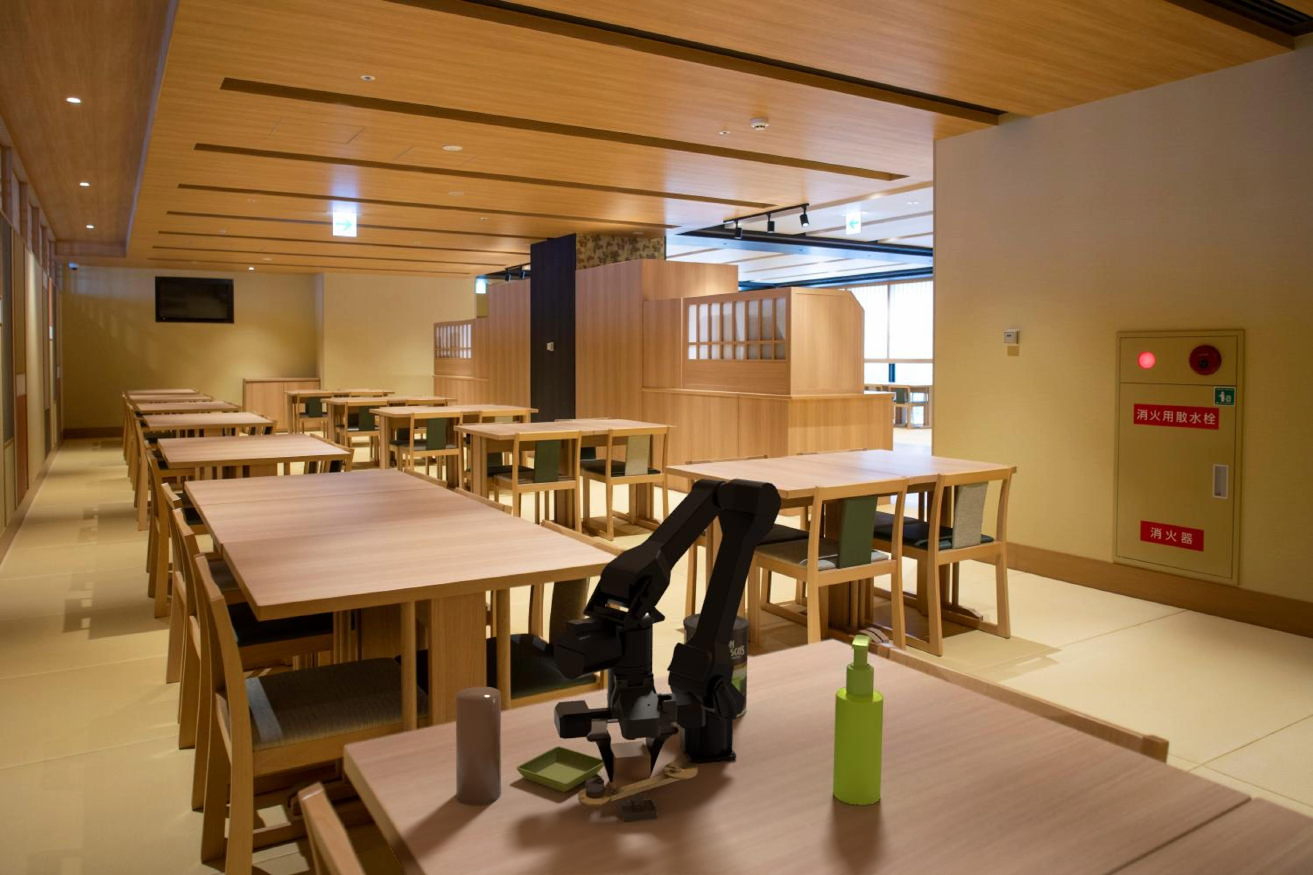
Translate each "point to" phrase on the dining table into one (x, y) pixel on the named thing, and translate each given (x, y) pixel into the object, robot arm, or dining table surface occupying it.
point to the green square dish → (561, 768)
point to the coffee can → (737, 650)
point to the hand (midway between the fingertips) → (629, 778)
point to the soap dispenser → (858, 732)
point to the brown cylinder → (478, 745)
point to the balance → (635, 792)
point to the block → (630, 763)
